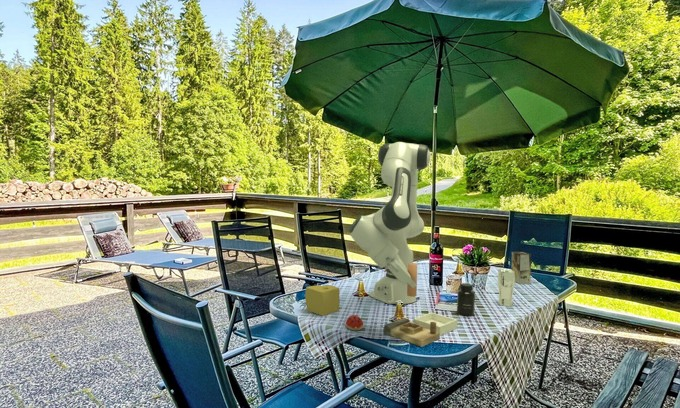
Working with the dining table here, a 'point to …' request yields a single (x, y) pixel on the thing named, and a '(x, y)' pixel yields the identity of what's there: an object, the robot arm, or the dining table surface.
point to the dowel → (413, 273)
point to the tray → (437, 322)
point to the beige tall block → (506, 286)
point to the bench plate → (411, 332)
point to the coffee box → (521, 267)
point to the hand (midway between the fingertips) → (414, 284)
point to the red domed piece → (354, 323)
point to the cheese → (322, 299)
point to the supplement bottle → (466, 300)
